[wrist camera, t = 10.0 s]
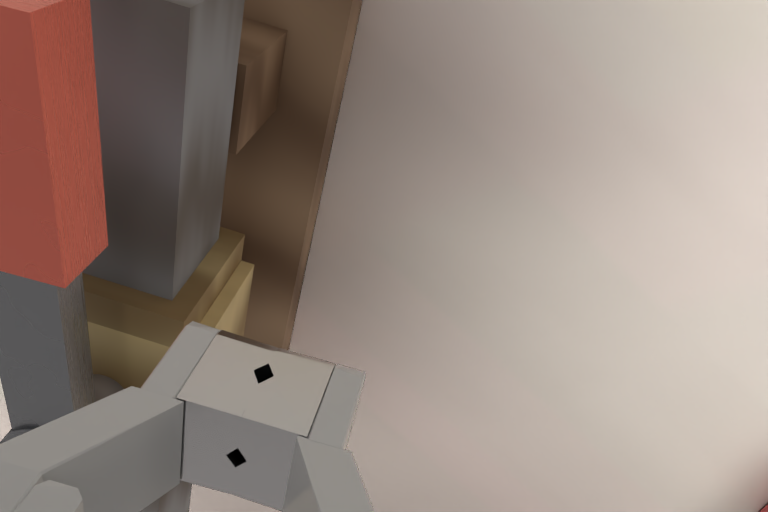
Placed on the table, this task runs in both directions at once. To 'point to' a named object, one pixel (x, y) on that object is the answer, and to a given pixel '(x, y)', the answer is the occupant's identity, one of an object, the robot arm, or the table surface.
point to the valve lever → (47, 207)
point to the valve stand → (208, 172)
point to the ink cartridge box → (765, 509)
